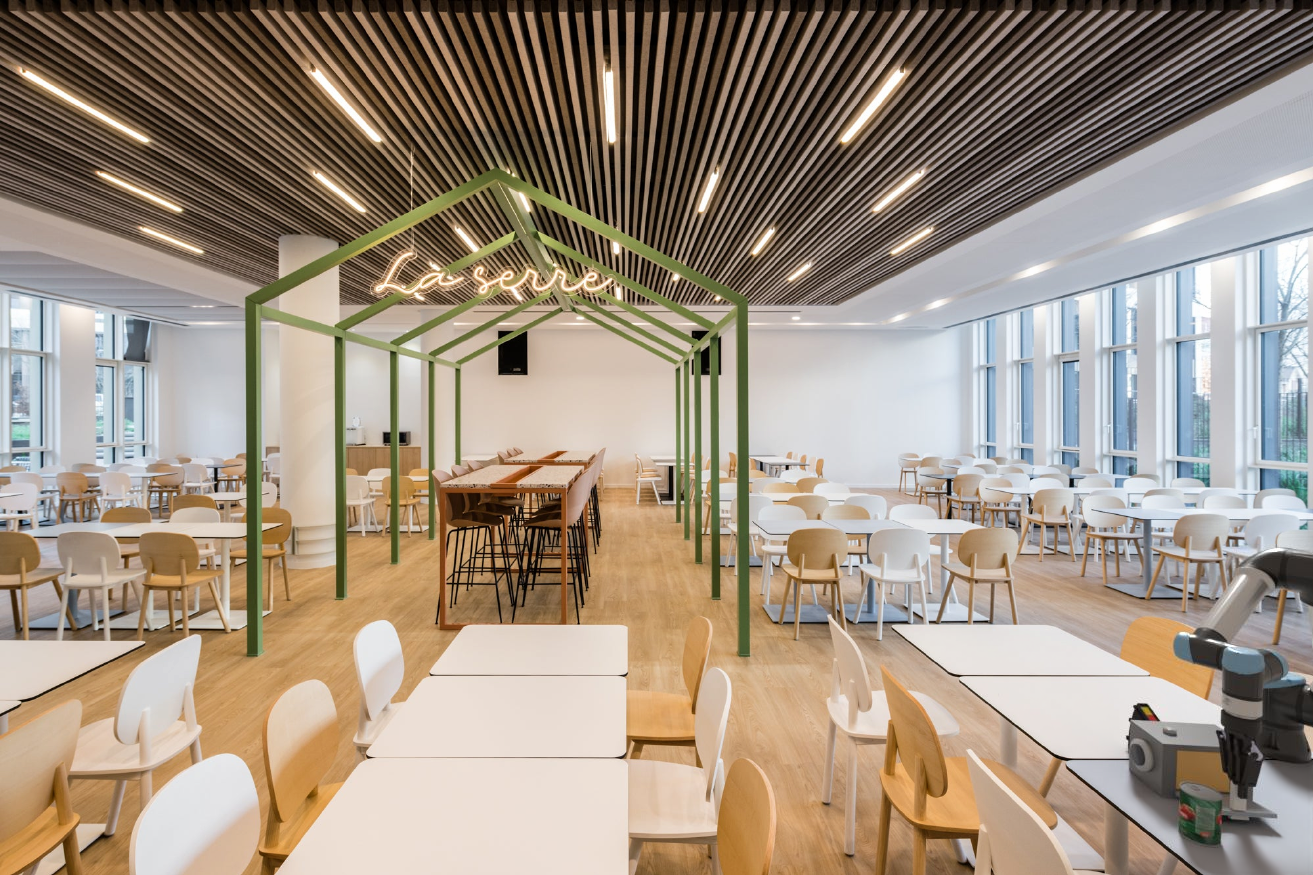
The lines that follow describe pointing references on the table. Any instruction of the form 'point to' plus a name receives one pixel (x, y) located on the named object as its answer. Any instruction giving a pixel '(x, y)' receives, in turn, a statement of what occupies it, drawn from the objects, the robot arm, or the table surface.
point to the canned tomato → (1200, 814)
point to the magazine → (1142, 715)
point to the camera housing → (1177, 756)
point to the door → (1251, 811)
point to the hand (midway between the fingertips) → (1237, 808)
